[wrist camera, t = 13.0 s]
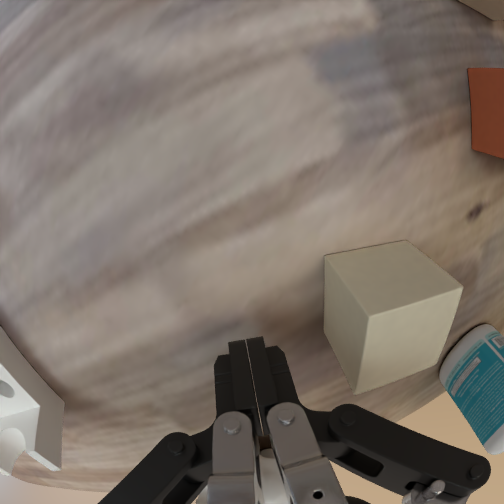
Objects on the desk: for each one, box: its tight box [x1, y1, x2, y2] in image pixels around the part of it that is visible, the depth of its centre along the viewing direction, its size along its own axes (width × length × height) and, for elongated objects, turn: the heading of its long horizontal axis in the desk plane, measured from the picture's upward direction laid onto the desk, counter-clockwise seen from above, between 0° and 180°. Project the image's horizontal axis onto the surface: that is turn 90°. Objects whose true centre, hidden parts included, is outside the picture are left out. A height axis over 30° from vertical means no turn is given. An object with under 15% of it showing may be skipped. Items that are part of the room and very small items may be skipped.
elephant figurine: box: [196, 449, 289, 504], centre depth 18 cm, size 10×12×9 cm
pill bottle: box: [439, 324, 504, 455], centre depth 15 cm, size 8×7×14 cm
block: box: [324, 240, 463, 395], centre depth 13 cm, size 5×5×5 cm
